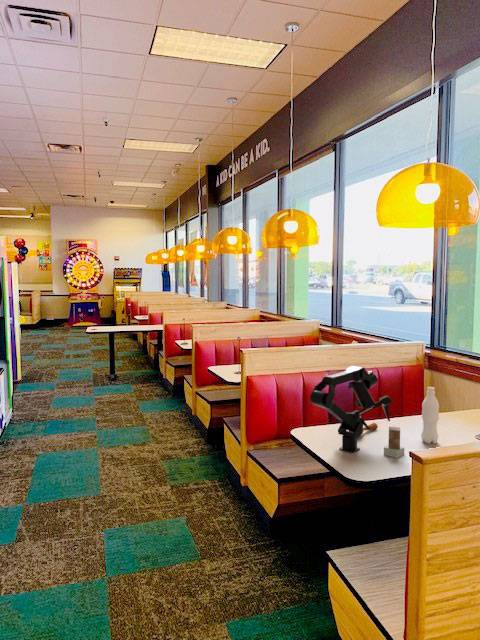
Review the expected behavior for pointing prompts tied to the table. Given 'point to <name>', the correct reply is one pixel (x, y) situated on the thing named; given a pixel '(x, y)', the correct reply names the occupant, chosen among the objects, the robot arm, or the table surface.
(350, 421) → the robot arm
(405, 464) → the table surface
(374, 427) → the kendama
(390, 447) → the walnut pillar
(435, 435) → the water bottle
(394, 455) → the block
